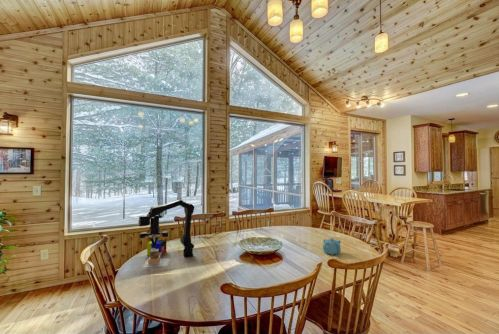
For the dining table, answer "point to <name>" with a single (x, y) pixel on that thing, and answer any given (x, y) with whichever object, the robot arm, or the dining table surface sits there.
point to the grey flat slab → (162, 263)
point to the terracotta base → (153, 260)
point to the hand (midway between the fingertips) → (154, 246)
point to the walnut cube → (154, 253)
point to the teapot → (331, 246)
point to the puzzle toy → (157, 246)
